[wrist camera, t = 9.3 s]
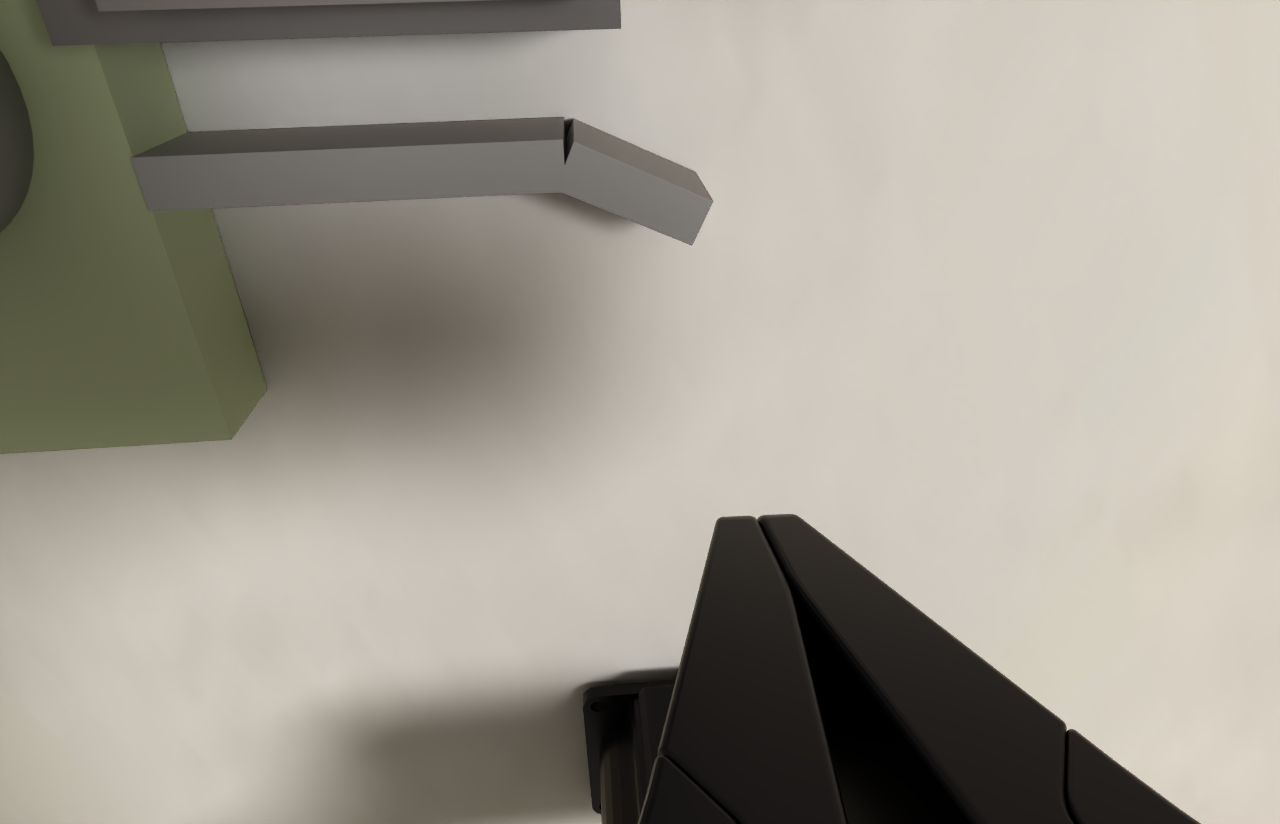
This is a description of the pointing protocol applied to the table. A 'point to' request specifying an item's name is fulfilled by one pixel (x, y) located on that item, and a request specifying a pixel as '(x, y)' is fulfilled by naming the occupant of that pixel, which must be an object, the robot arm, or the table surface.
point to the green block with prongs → (211, 229)
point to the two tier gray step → (309, 18)
